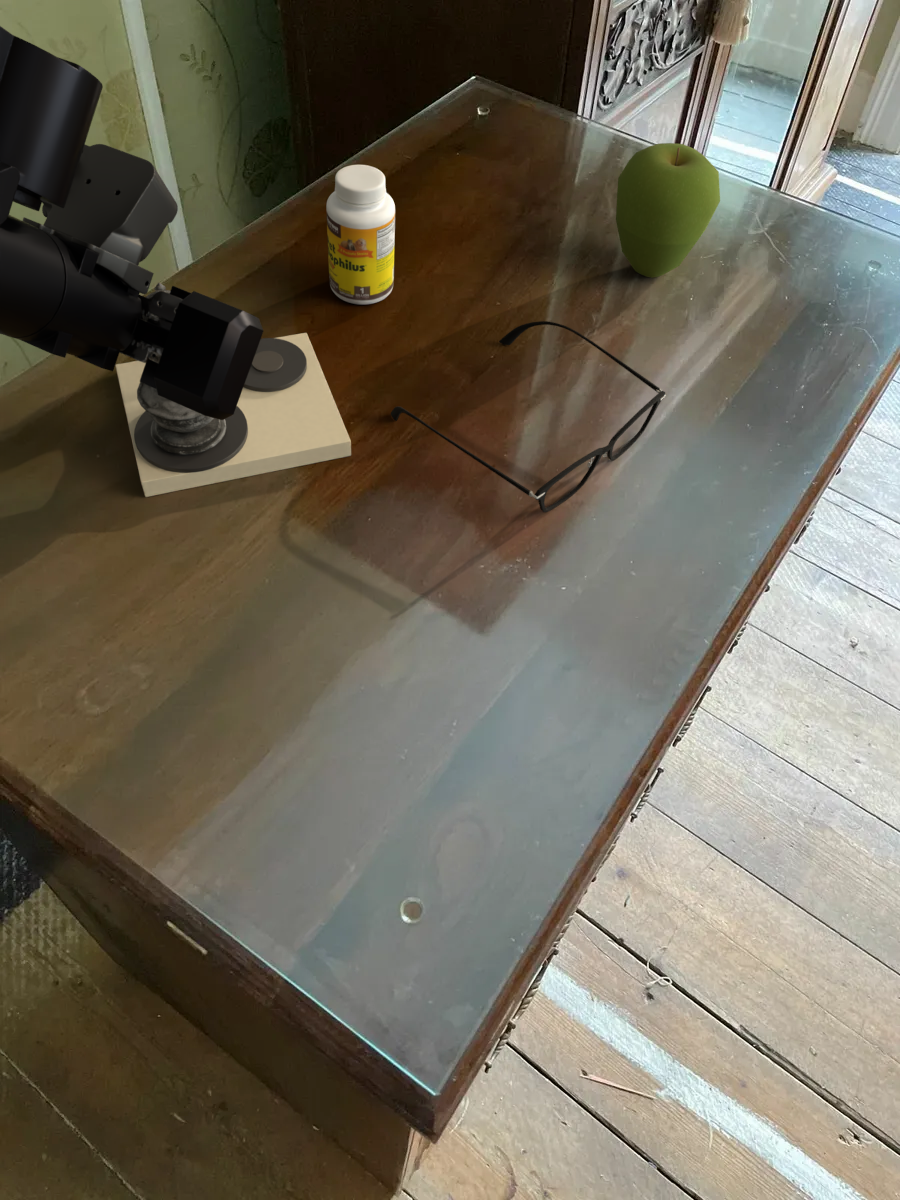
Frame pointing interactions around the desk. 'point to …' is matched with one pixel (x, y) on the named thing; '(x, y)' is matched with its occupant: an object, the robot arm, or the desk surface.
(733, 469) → the desk surface
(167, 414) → the pewter sugar caster
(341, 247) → the supplement bottle
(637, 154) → the apple
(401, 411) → the eyeglasses
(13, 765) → the desk surface
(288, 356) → the stove
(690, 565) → the desk surface
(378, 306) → the desk surface
